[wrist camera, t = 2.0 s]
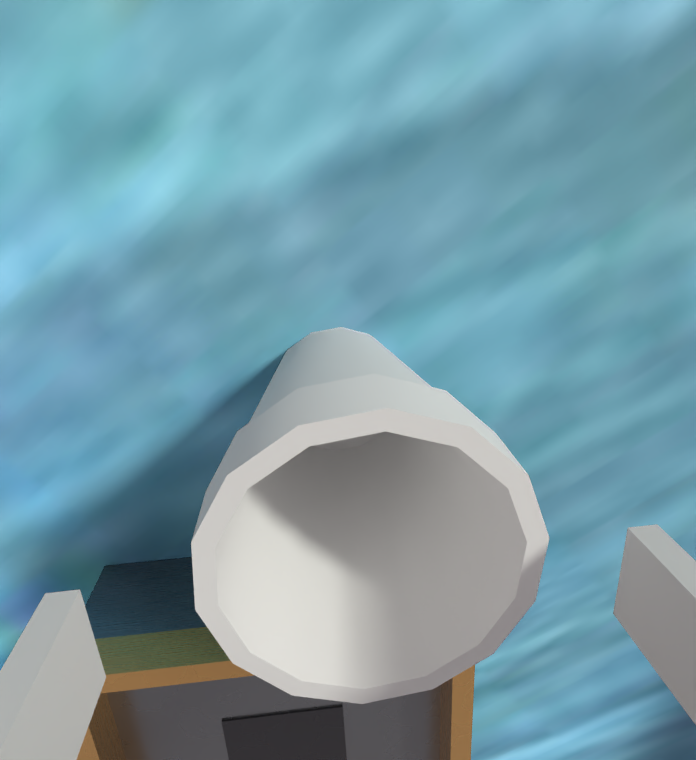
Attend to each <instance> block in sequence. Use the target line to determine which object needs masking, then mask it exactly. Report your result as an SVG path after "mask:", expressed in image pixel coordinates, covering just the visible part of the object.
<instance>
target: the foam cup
mask: <svg viewBox="0 0 696 760" xmlns="http://www.w3.org/2000/svg"><path fill="white" fill-rule="evenodd" d="M548 542H549V535H548V532H547V529H546V526H545V523H544V520H543V517H542V514H541V511H540V508H539V505H538V502H537V499H536V496H535V493H534V490H533V487H532V484H531V481H530V478H529V475H528V474H527V473H526V471H525V470H524V469H523V467H522V466H521V465H520V464H519V462H518V461H517V460H516V458H515V457H514V456H513V455H512V453H511V452H510V451H509V450H508V448H507V447H506V446H505V444H504V443H503V442H502V441H501V439H500V438H499V437H498V435H497V434H496V433H495V432H494V431H493V430H491V429H490V428H489V427H488V426H487V425H486V424H484V423H483V422H482V421H481V420H480V419H479V418H477V417H476V416H475V415H474V414H473V413H472V412H470V411H469V410H468V409H467V408H466V407H465V406H463V405H462V404H461V403H460V402H459V401H458V400H456V399H455V398H454V397H453V396H452V395H451V394H449V393H448V392H447V391H446V390H442V389H438V388H433V387H431V386H430V385H429V384H428V383H426V382H425V381H424V380H423V379H422V378H421V377H419V376H418V375H417V374H416V373H415V372H414V371H412V370H411V369H410V368H409V367H408V366H407V365H405V364H404V363H403V362H402V361H401V360H400V359H398V358H397V357H396V356H395V355H394V354H393V353H391V352H390V351H389V350H388V349H387V348H385V347H384V346H383V345H382V344H381V343H380V342H378V341H377V340H376V339H375V338H374V337H373V336H371V335H370V334H366V333H363V332H359V331H355V330H351V329H347V328H343V327H338V328H333V329H328V330H323V331H317V332H312V333H310V334H309V335H307V336H306V337H305V338H303V339H302V340H300V341H299V342H298V343H296V344H295V345H293V346H292V347H291V348H289V349H288V350H287V351H286V353H285V355H284V356H283V358H282V360H281V362H280V364H279V366H278V368H277V370H276V372H275V373H274V375H273V377H272V379H271V381H270V383H269V385H268V387H267V389H266V391H265V393H264V395H263V396H262V398H261V400H260V402H259V404H258V406H257V408H256V410H255V412H254V414H253V416H252V418H251V420H250V421H249V423H248V424H247V425H245V426H244V427H242V428H241V429H240V430H238V431H237V432H236V434H235V436H234V438H233V440H232V442H231V444H230V446H229V448H228V450H227V451H226V453H225V455H224V457H223V459H222V461H221V463H220V465H219V467H218V469H217V471H216V473H215V474H214V476H213V478H212V480H211V482H210V484H209V486H208V488H207V490H206V492H205V496H204V499H203V503H202V506H201V510H200V513H199V517H198V520H197V524H196V527H195V531H194V534H193V538H192V541H191V550H192V567H193V584H194V600H195V610H196V612H197V613H198V615H199V616H200V618H201V619H202V620H203V622H204V623H205V625H206V626H207V628H208V629H209V630H210V632H211V633H212V635H213V636H214V638H215V639H216V640H217V642H218V643H219V645H220V646H221V648H222V649H223V650H224V652H225V653H226V655H227V656H228V658H229V659H230V660H231V662H232V663H233V664H235V665H237V666H238V667H240V668H242V669H244V670H246V671H248V672H250V673H251V674H253V675H255V676H257V677H259V678H261V679H263V680H264V681H266V682H268V683H270V684H272V685H274V686H275V687H277V688H279V689H281V690H283V691H285V692H287V693H288V694H290V695H292V696H300V697H308V698H316V699H325V700H333V701H341V702H349V703H357V704H365V703H370V702H375V701H380V700H384V699H389V698H394V697H399V696H404V695H408V694H413V693H418V692H423V691H427V690H432V689H434V688H436V687H438V686H439V685H441V684H443V683H444V682H446V681H448V680H449V679H451V678H453V677H455V676H456V675H458V674H460V673H461V672H463V671H465V670H466V669H468V668H470V667H472V666H473V665H475V664H477V663H478V662H480V661H482V660H483V659H485V658H487V657H489V656H490V655H492V654H494V652H495V651H496V650H497V648H498V647H499V646H500V645H501V643H502V642H503V641H504V640H505V638H506V637H507V636H508V635H509V633H510V632H511V631H512V630H513V628H514V627H515V626H516V625H517V623H518V622H519V621H520V620H521V618H522V617H523V616H524V615H525V613H526V612H527V611H528V609H529V608H530V607H531V606H532V604H533V603H534V602H535V600H536V596H537V591H538V587H539V582H540V578H541V573H542V569H543V564H544V560H545V555H546V551H547V546H548Z"/></svg>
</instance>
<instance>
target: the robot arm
mask: <svg viewBox="0 0 696 760" xmlns="http://www.w3.org/2000/svg"><path fill="white" fill-rule="evenodd" d="M613 614H614V615H615V617H616V618H617V619H618V621H619V622H620V623H621V625H622V626H623V627H624V629H625V630H626V631H627V633H628V634H629V635H630V637H631V638H632V640H633V641H634V642H635V644H636V645H637V646H638V648H639V649H640V650H641V652H642V653H643V654H644V656H645V657H646V658H647V660H648V661H649V663H650V664H651V665H652V667H653V668H654V669H655V671H656V672H657V673H658V675H659V676H660V677H661V679H662V680H663V681H664V683H665V684H666V686H667V687H668V688H669V690H670V691H671V692H672V694H673V695H674V696H675V698H676V699H677V700H678V702H679V703H680V704H681V706H682V707H683V709H684V710H685V711H686V713H687V714H688V715H689V717H690V718H691V719H692V721H693V722H694V723H695V725H696V561H695V560H694V559H693V558H692V557H691V556H690V555H689V554H688V553H687V552H686V551H685V550H683V549H682V548H681V547H680V546H679V545H678V544H677V543H676V542H675V541H674V540H673V539H672V538H671V537H670V536H669V535H668V534H667V533H666V532H665V531H664V530H662V529H661V528H660V527H659V526H658V525H648V526H639V527H630V528H628V529H627V535H626V541H625V547H624V553H623V559H622V565H621V571H620V577H619V583H618V588H617V594H616V600H615V606H614V612H613ZM105 679H106V675H105V672H104V668H103V665H102V661H101V658H100V655H99V651H98V648H97V645H96V641H95V638H94V635H93V631H92V628H91V625H90V621H89V618H88V614H87V611H86V608H85V604H84V601H83V598H82V594H81V591H80V589H79V590H70V591H62V592H53V593H45V595H44V596H43V598H42V600H41V601H40V603H39V605H38V607H37V608H36V610H35V612H34V614H33V615H32V617H31V619H30V620H29V622H28V624H27V626H26V627H25V629H24V631H23V633H22V634H21V636H20V638H19V639H18V641H17V643H16V645H15V646H14V648H13V650H12V652H11V653H10V655H9V657H8V659H7V660H6V662H5V664H4V665H3V667H2V669H1V671H0V760H76V759H77V757H78V754H79V751H80V748H81V746H82V743H83V740H84V737H85V735H86V732H87V729H88V726H89V723H90V721H91V718H92V715H93V712H94V710H95V707H96V704H97V701H98V698H99V696H100V693H101V690H102V687H103V685H104V682H105Z"/></svg>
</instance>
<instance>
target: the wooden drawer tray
mask: <svg viewBox="0 0 696 760" xmlns="http://www.w3.org/2000/svg"><path fill="white" fill-rule="evenodd" d="M85 608H86V611H87V614H88V618H89V621H90V625H91V628H92V631H93V635H94V638H95V641H96V645H97V648H98V651H99V655H100V658H101V661H102V665H103V668H104V672H105V675H106V679H105V682H104V685H103V687H102V690H101V693H100V696H99V698H98V701H97V704H96V707H95V710H94V712H93V715H92V718H91V721H90V723H89V726H88V729H87V732H86V735H85V737H84V740H83V743H82V746H81V748H80V751H79V754H78V757H77V759H76V760H471V738H472V716H473V694H474V672H475V665H473V666H472V667H470V668H468V669H466V670H465V671H463V672H461V673H460V674H458V675H456V676H455V677H453V678H451V679H449V680H448V681H446V682H444V683H443V684H441V685H439V686H438V687H436V688H434V689H432V690H427V691H423V692H418V693H413V694H408V695H404V696H399V697H394V698H389V699H384V700H380V701H375V702H370V703H365V704H357V703H349V702H341V701H333V700H325V699H316V698H308V697H300V696H292V695H290V694H288V693H287V692H285V691H283V690H281V689H279V688H277V687H275V686H274V685H272V684H270V683H268V682H266V681H264V680H263V679H261V678H259V677H257V676H255V675H253V674H251V673H250V672H248V671H246V670H244V669H242V668H240V667H238V666H237V665H235V664H233V663H232V662H231V660H230V659H229V658H228V656H227V655H226V653H225V652H224V650H223V649H222V648H221V646H220V645H219V643H218V642H217V640H216V639H215V638H214V636H213V635H212V633H211V632H210V630H209V629H208V628H207V626H206V625H205V623H204V622H203V620H202V619H201V618H200V616H199V615H198V613H197V612H196V610H195V600H194V584H193V567H192V557H189V558H179V559H169V560H160V561H150V562H140V563H130V564H120V565H110V566H105V567H104V569H103V571H102V573H101V575H100V577H99V579H98V581H97V583H96V585H95V587H94V589H93V591H92V593H91V595H90V597H89V599H88V601H87V604H86V606H85Z"/></svg>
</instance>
